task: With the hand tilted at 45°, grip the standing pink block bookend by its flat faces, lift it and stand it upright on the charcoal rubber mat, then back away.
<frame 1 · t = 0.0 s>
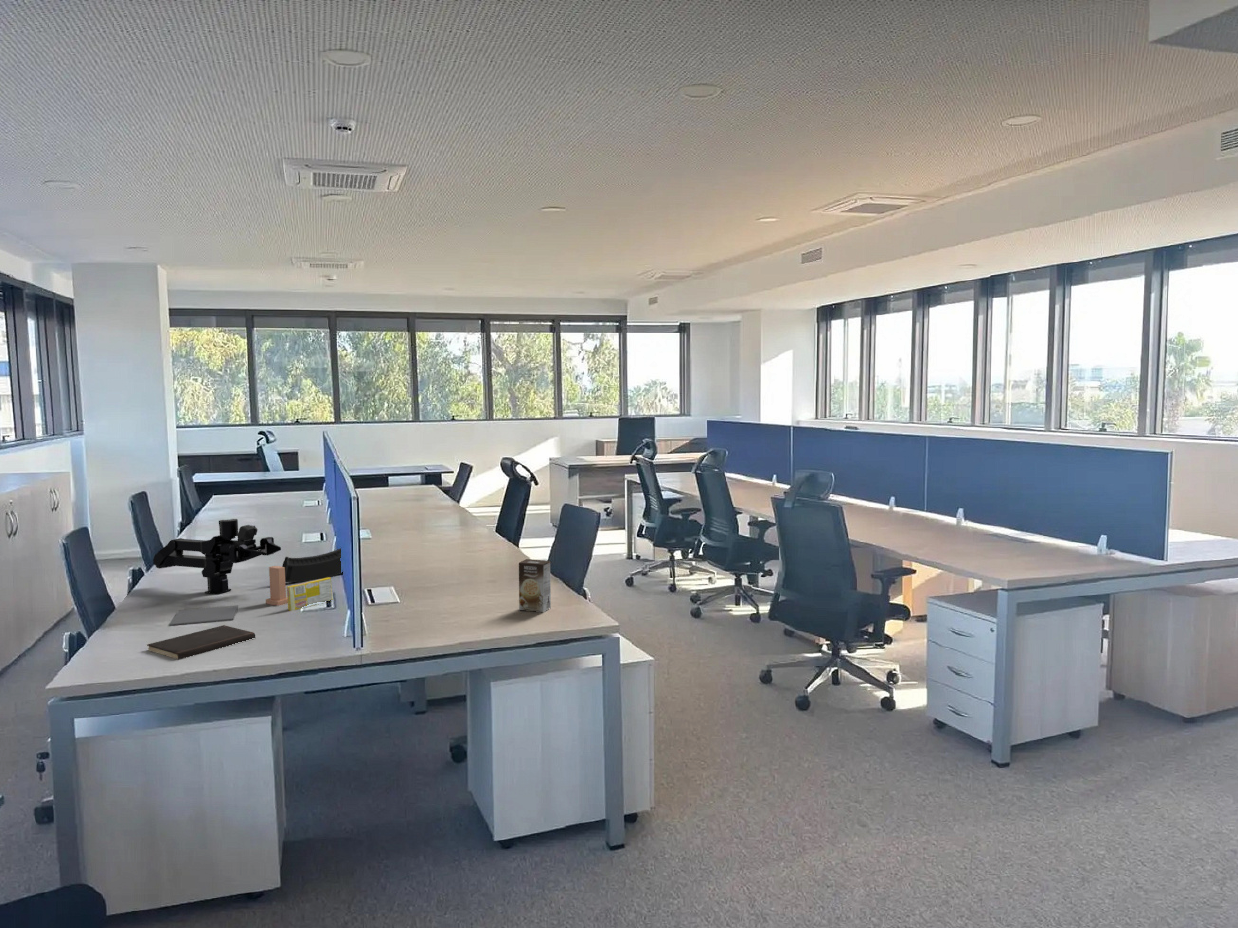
hand: (271, 550, 295), 17 cm above the table, tool horizontal, fingers open, 9 cm apart
hardcover book: (202, 646, 242), on the table
magazine: (319, 579, 327), on the table
candy box: (310, 606, 285), on the table
coffee box: (535, 610, 276), on the table
mat: (205, 615, 273), on the table
pink block bookend: (278, 602, 289), on the table
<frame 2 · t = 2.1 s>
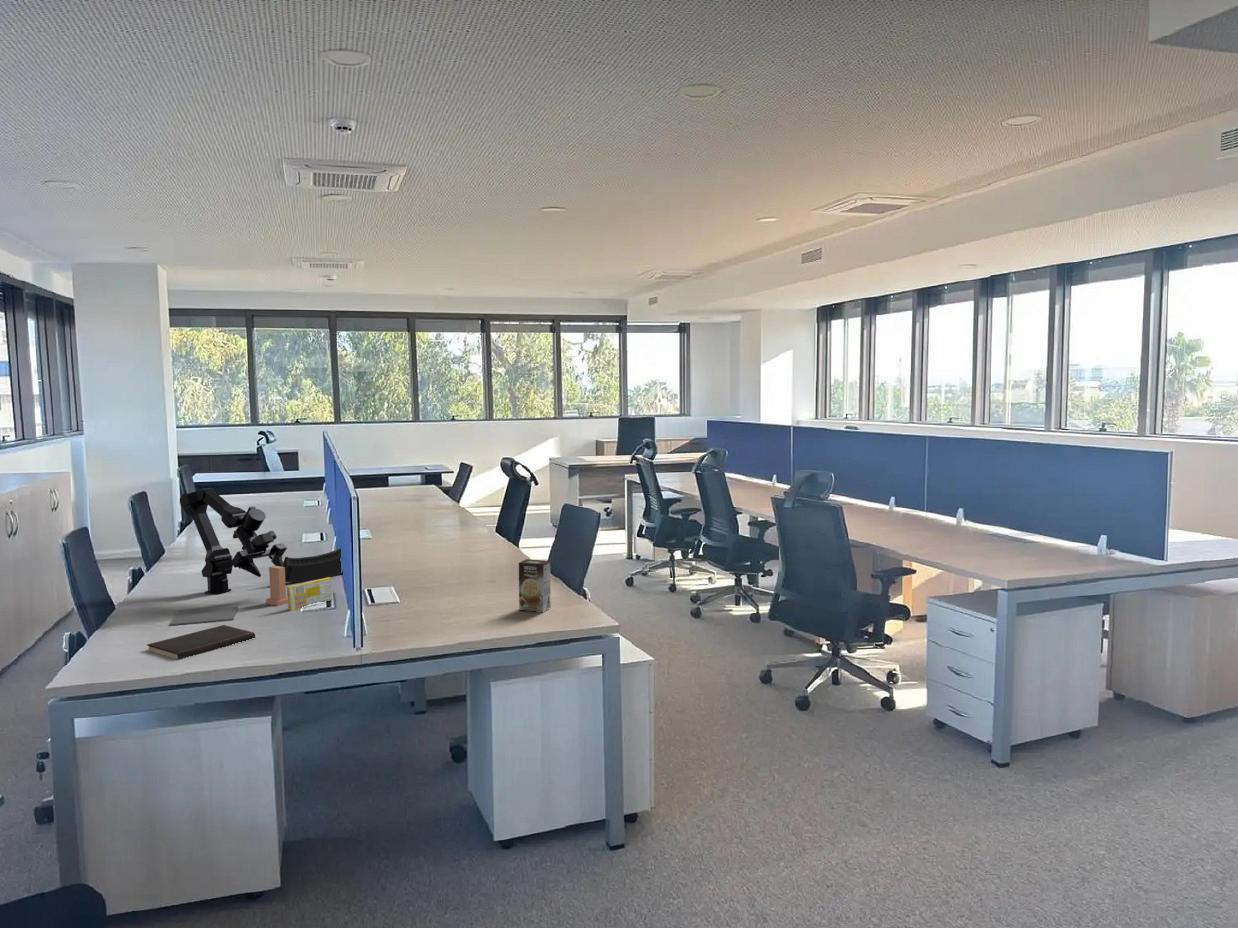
hand: (271, 573, 289), 10 cm above the table, tool tilted 45°, fingers open, 9 cm apart
nothing on the table moved.
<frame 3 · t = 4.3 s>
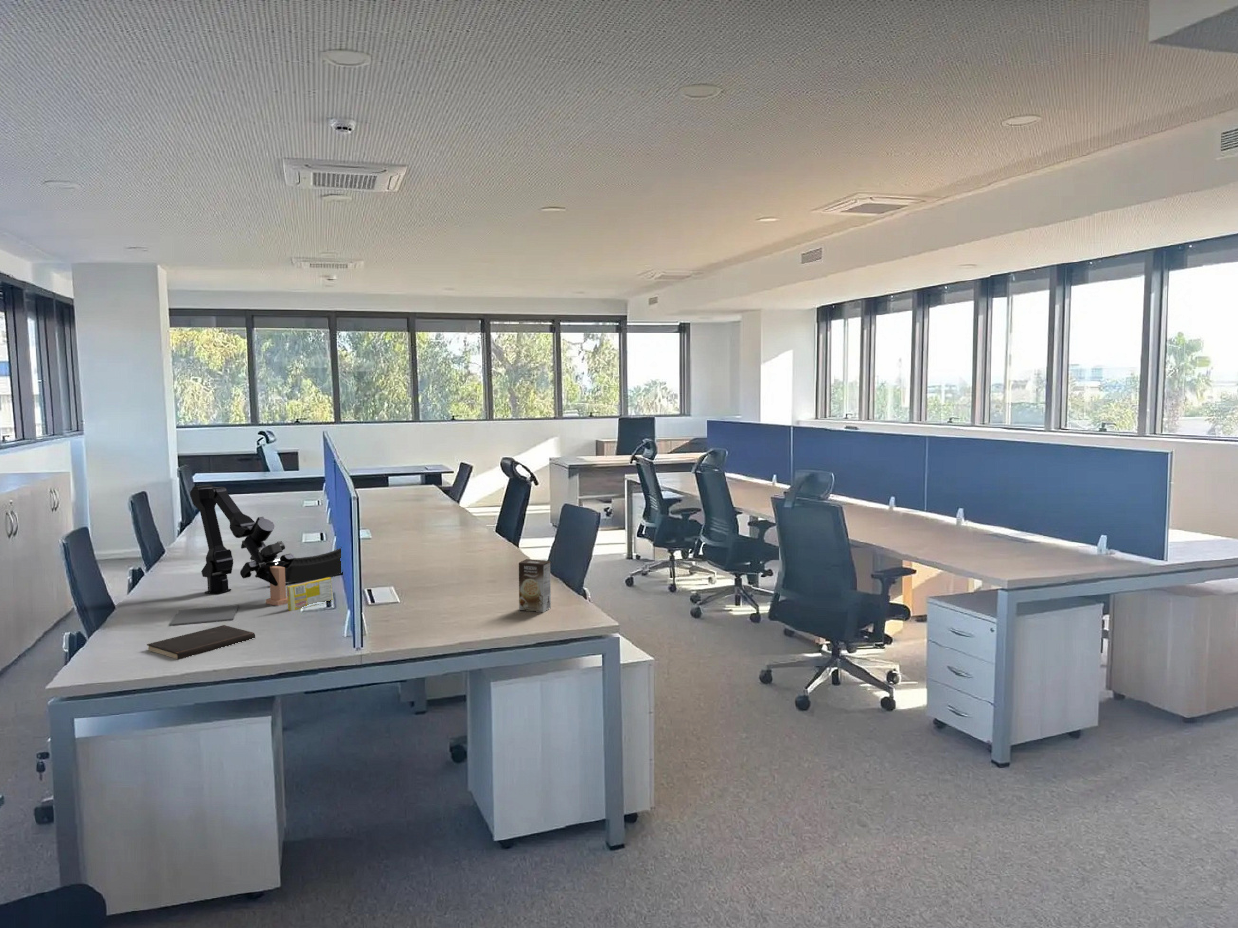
hand: (280, 584, 287), 7 cm above the table, tool tilted 45°, fingers closed on pink block bookend, 2 cm apart
pink block bookend: (278, 602, 289), on the table, touching gripper
everything else where it was.
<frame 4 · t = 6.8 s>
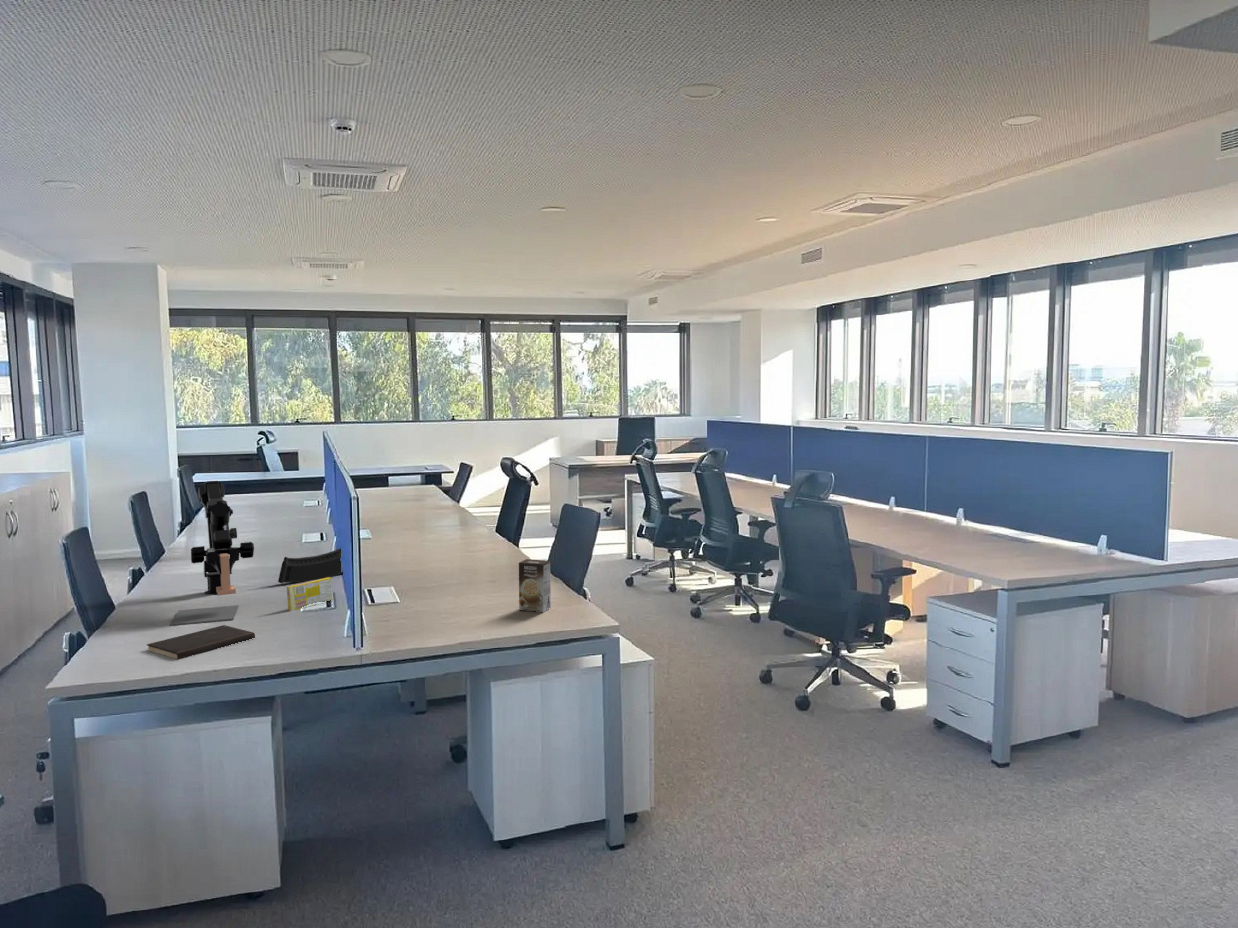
hand: (225, 573, 273), 14 cm above the table, tool tilted 45°, fingers closed on pink block bookend, 2 cm apart
pink block bookend: (226, 592, 275), point 7 cm above the table, touching gripper
everything else where it was.
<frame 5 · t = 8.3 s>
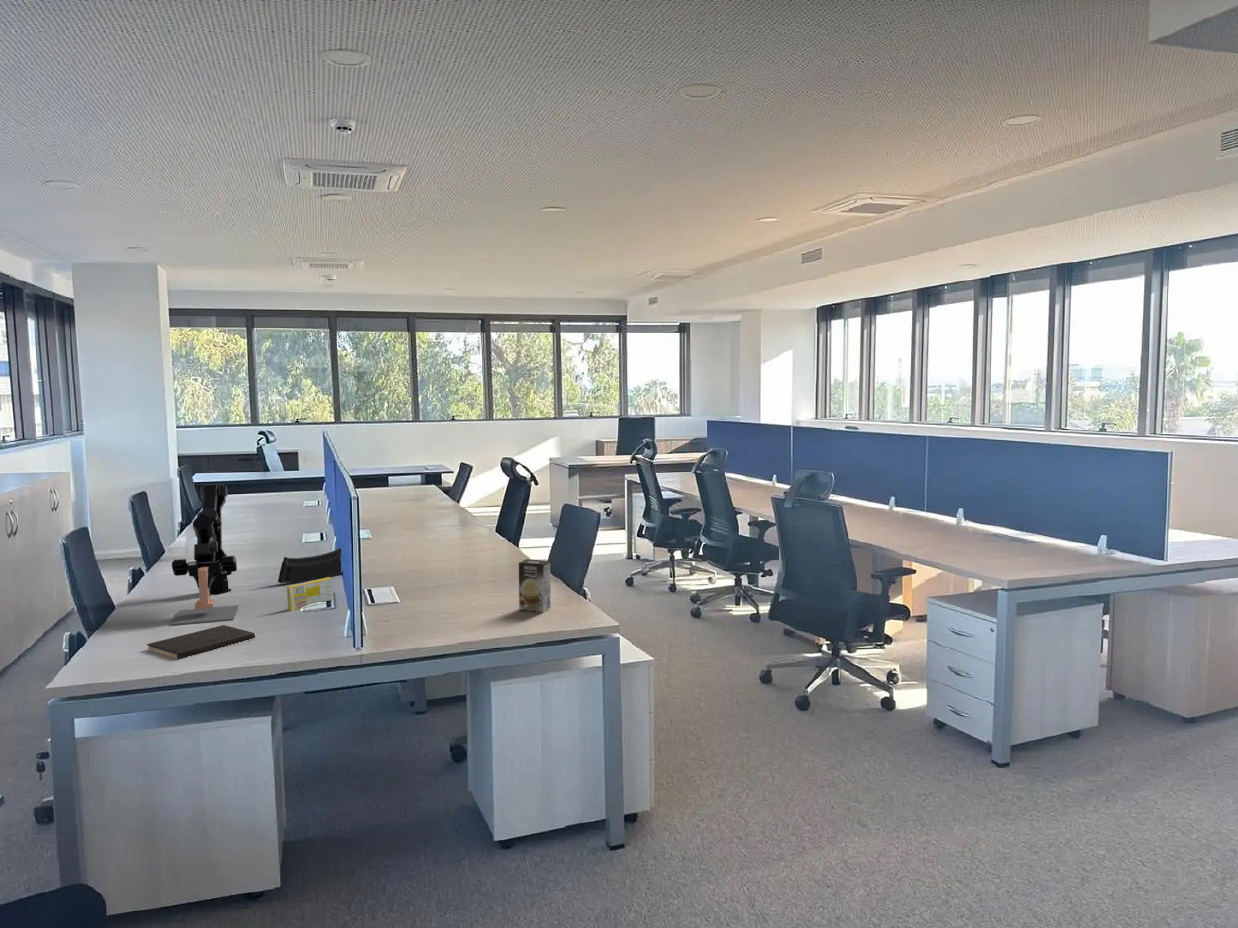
hand: (203, 587, 271), 10 cm above the table, tool tilted 45°, fingers closed on pink block bookend, 2 cm apart
pink block bookend: (205, 606, 272), point 3 cm above the table, touching gripper
everything else where it was.
when the fingers open (8 cm above the table, at t = 9.3 s): pink block bookend stays where it is, resting on mat.
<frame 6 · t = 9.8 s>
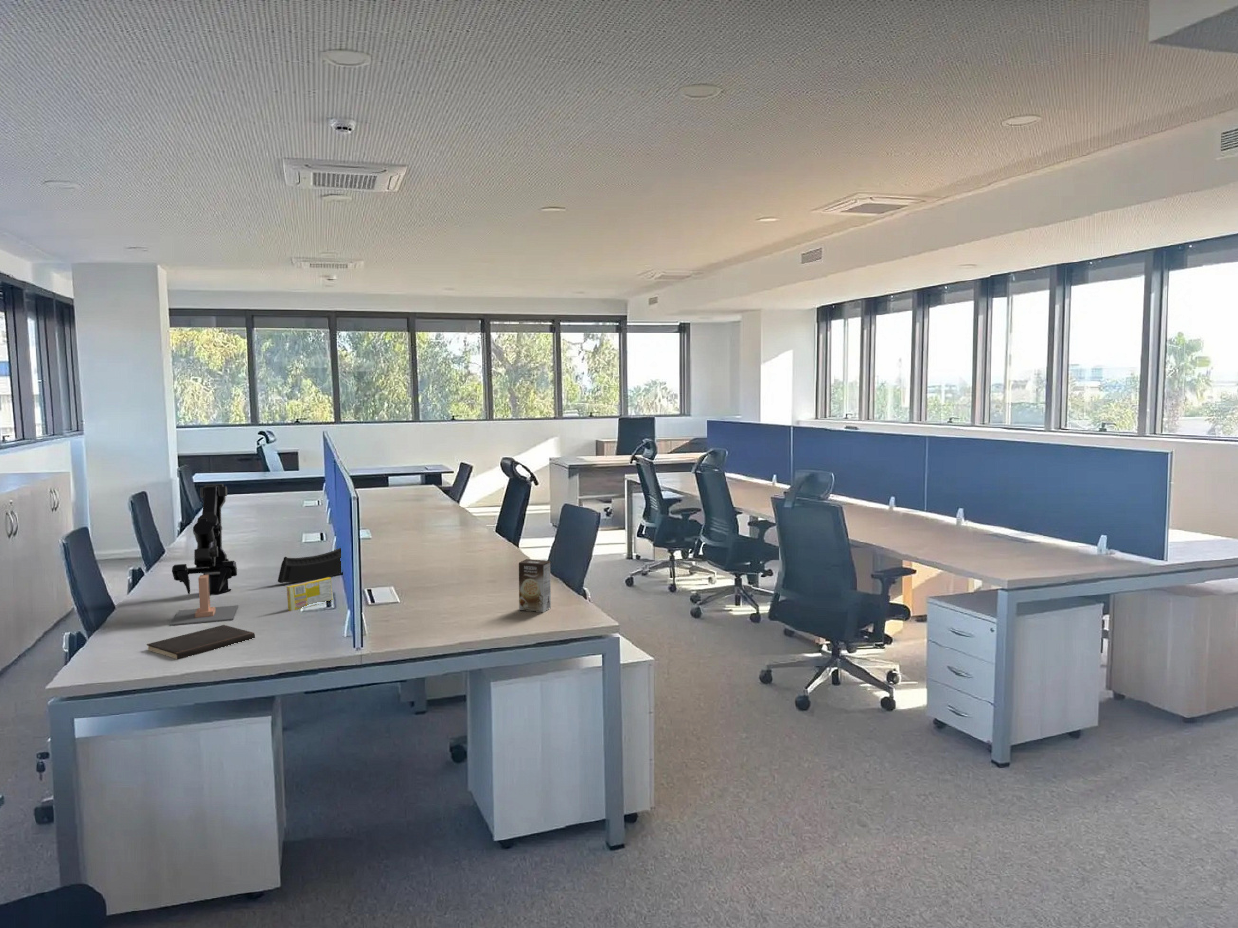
hand: (203, 592, 271), 8 cm above the table, tool tilted 45°, fingers open, 8 cm apart
pink block bookend: (205, 614, 273), resting on mat
everything else where it was.
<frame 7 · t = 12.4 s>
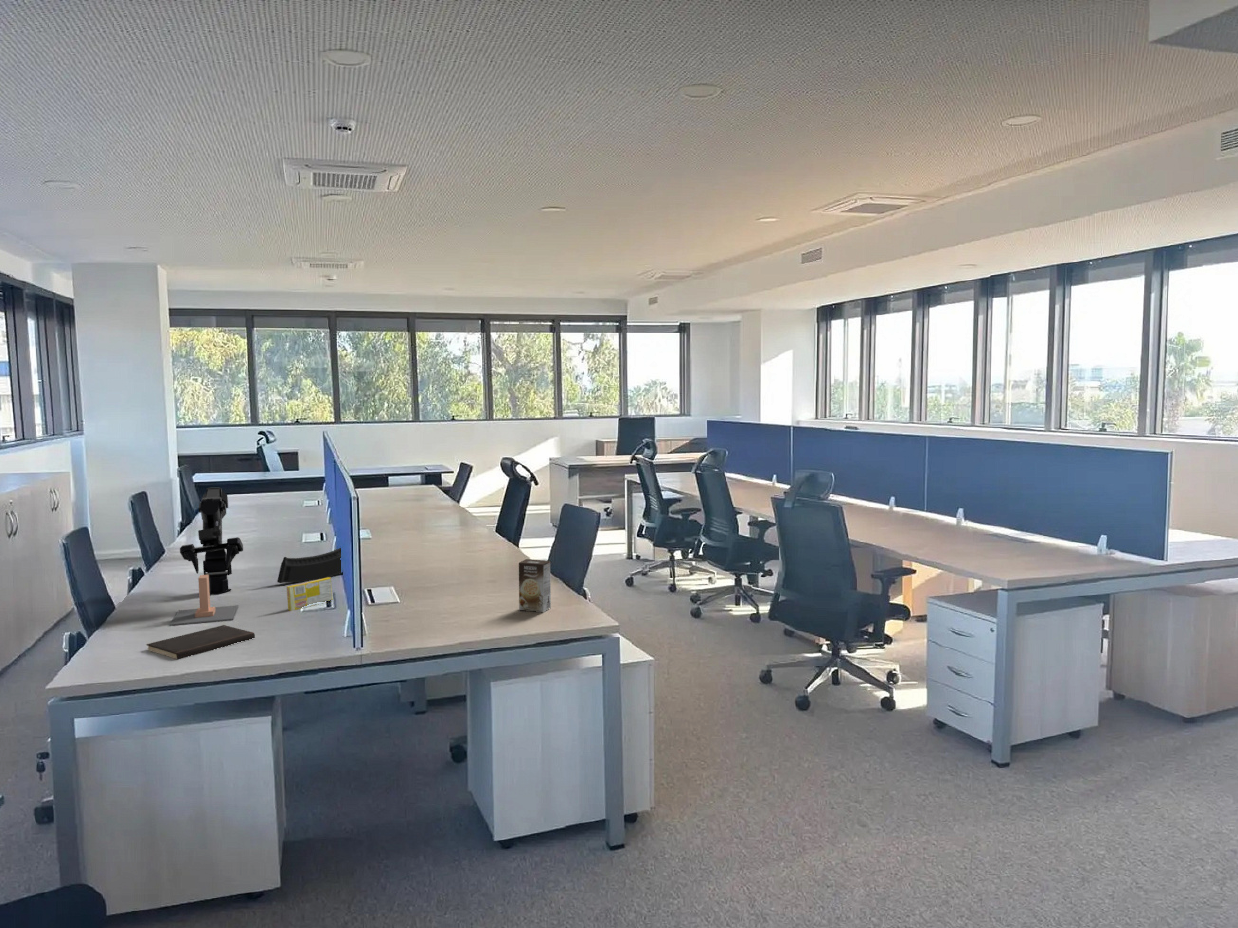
hand: (212, 570, 281), 13 cm above the table, tool tilted 40°, fingers open, 9 cm apart
nothing on the table moved.
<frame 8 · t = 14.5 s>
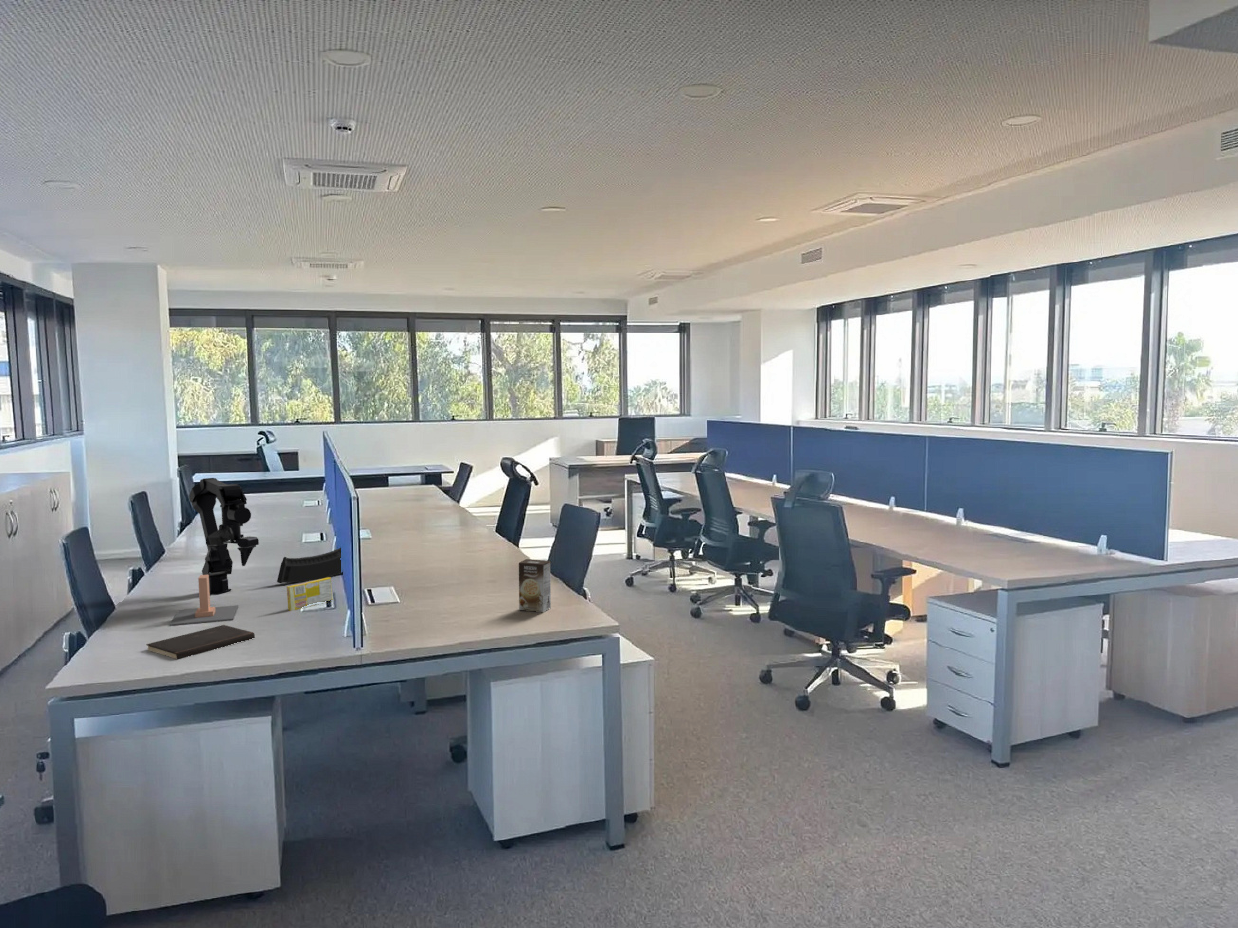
hand: (233, 565, 294), 12 cm above the table, tool pointing down, fingers open, 9 cm apart
nothing on the table moved.
at the end: pink block bookend inside the target area on the mat (0.0 cm from its centre), point 0.5 cm above the mat's base; pink block bookend tilted 0°; the gripper is holding nothing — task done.
